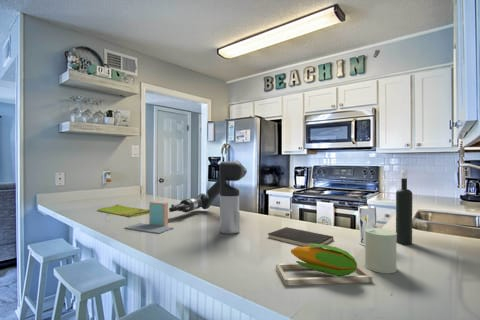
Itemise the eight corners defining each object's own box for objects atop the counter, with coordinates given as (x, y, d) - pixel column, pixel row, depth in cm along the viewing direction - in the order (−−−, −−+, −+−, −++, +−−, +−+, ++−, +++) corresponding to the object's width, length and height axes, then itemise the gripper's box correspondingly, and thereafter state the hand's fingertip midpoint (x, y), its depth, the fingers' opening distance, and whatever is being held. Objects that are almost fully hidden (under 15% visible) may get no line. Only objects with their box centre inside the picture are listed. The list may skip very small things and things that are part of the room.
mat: (173, 228, 132) (173, 227, 132) (159, 233, 123) (159, 232, 123) (140, 224, 141) (140, 223, 141) (124, 228, 132) (124, 227, 132)
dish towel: (130, 218, 157) (130, 212, 157) (96, 211, 176) (96, 207, 176) (151, 213, 170) (151, 208, 170) (117, 208, 189) (117, 203, 189)
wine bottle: (393, 242, 111) (393, 170, 111) (398, 239, 115) (399, 169, 114) (409, 246, 106) (409, 170, 106) (414, 243, 110) (414, 170, 110)
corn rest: (351, 266, 86) (351, 261, 86) (372, 282, 75) (372, 276, 75) (275, 268, 84) (275, 263, 84) (284, 285, 73) (284, 280, 73)
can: (358, 262, 90) (359, 226, 90) (385, 261, 90) (385, 226, 90) (374, 273, 81) (374, 234, 80) (403, 273, 81) (404, 233, 81)
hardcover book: (316, 250, 102) (316, 244, 102) (267, 238, 118) (267, 233, 118) (333, 241, 114) (333, 236, 114) (287, 231, 130) (287, 226, 130)
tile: (167, 226, 137) (167, 202, 137) (164, 227, 135) (164, 203, 135) (152, 224, 141) (152, 201, 141) (149, 225, 139) (149, 202, 139)
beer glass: (365, 247, 105) (366, 209, 105) (353, 242, 112) (354, 206, 112) (380, 245, 107) (380, 208, 107) (367, 240, 113) (367, 205, 113)
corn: (354, 255, 72) (285, 240, 83) (353, 284, 72) (284, 265, 83) (359, 249, 78) (295, 235, 89) (358, 275, 78) (293, 258, 89)
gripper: (198, 212, 159) (179, 218, 144) (180, 210, 165) (160, 215, 149) (198, 199, 159) (179, 204, 144) (180, 198, 165) (160, 202, 149)
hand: (170, 210), depth 146 cm, fingers closed
